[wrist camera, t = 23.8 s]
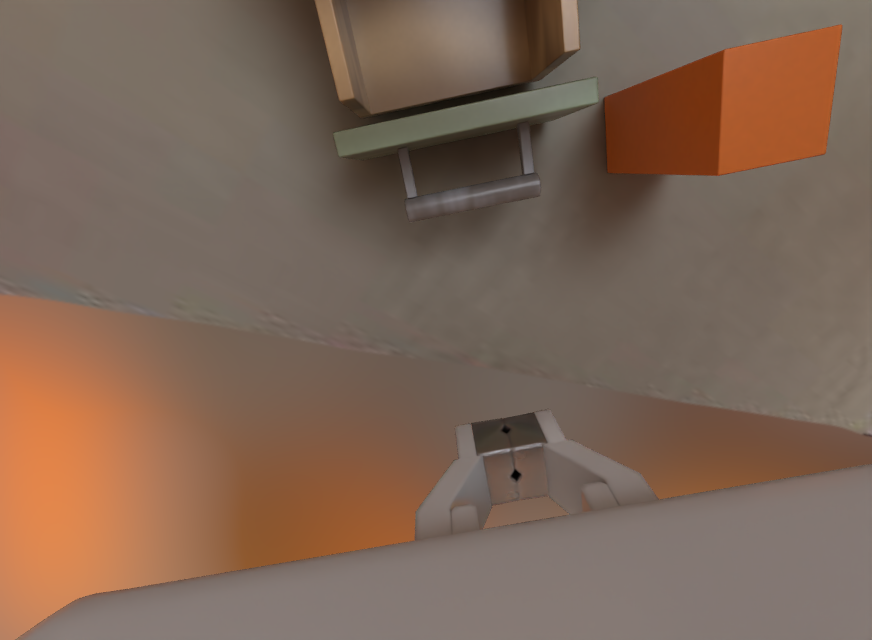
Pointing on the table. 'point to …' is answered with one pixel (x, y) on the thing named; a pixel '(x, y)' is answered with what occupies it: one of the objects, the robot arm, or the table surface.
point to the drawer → (451, 81)
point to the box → (728, 109)
